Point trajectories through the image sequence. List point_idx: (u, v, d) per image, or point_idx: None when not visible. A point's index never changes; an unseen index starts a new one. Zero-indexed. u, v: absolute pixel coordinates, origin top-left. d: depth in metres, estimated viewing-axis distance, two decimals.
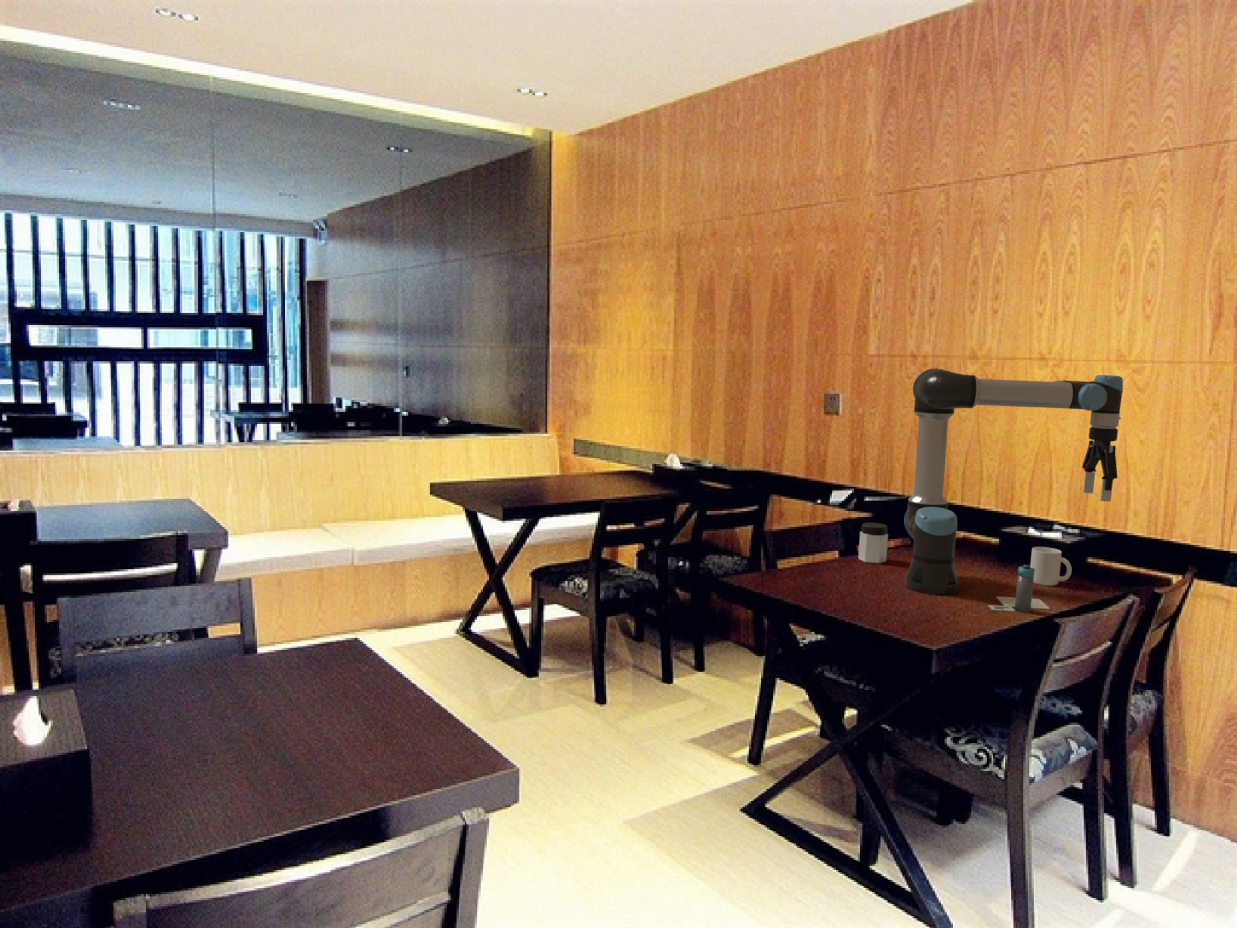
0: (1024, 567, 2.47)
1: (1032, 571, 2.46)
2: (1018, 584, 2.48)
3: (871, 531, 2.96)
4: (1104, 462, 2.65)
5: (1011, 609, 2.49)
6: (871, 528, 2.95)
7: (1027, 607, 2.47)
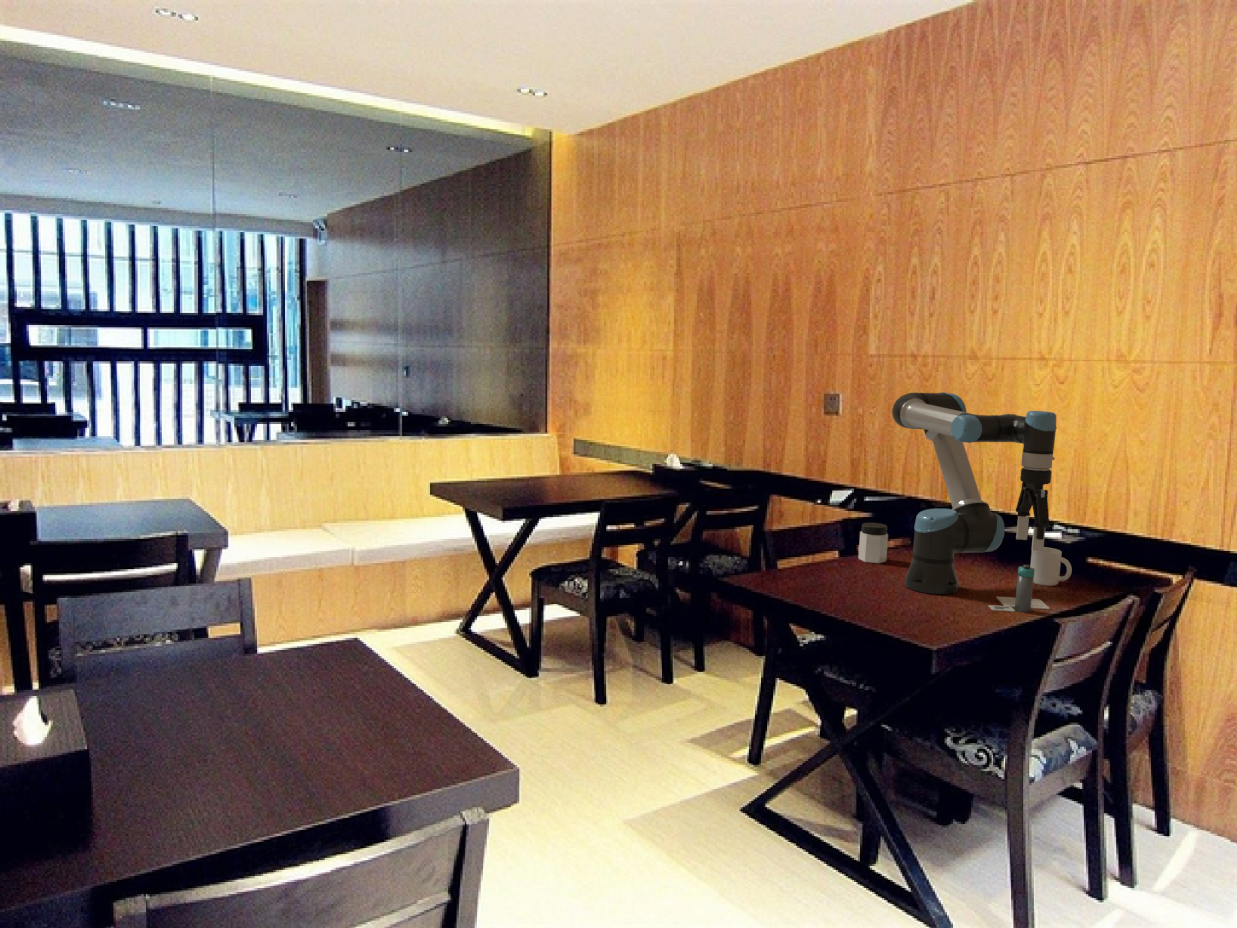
0: (1024, 567, 2.47)
1: (1032, 571, 2.46)
2: (1018, 584, 2.48)
3: (871, 531, 2.96)
4: (1036, 508, 2.40)
5: (1011, 609, 2.49)
6: (871, 528, 2.95)
7: (1027, 607, 2.47)
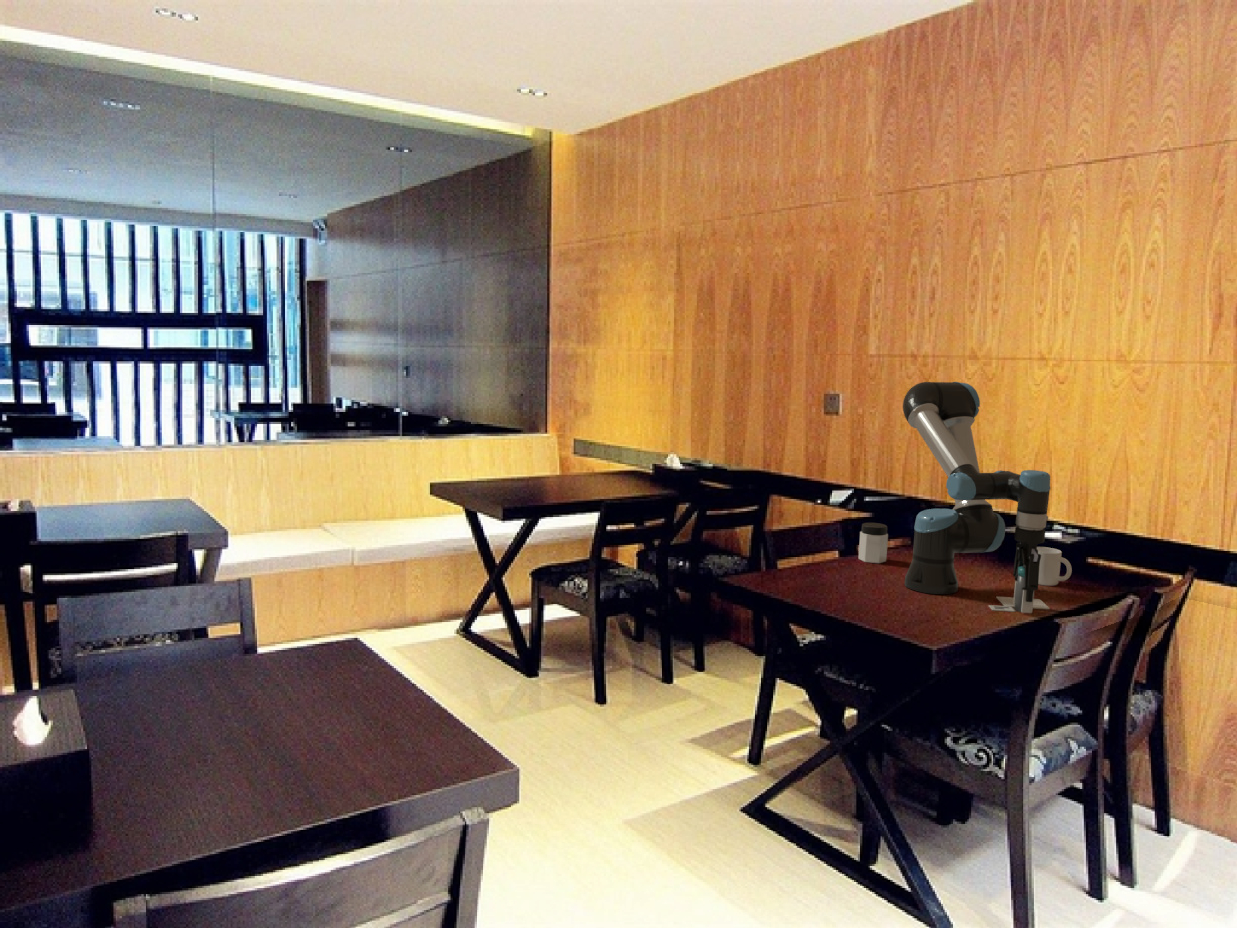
0: (1024, 567, 2.47)
1: None
2: (1018, 584, 2.48)
3: (871, 531, 2.96)
4: (1027, 569, 2.44)
5: (1011, 609, 2.49)
6: (871, 528, 2.95)
7: None
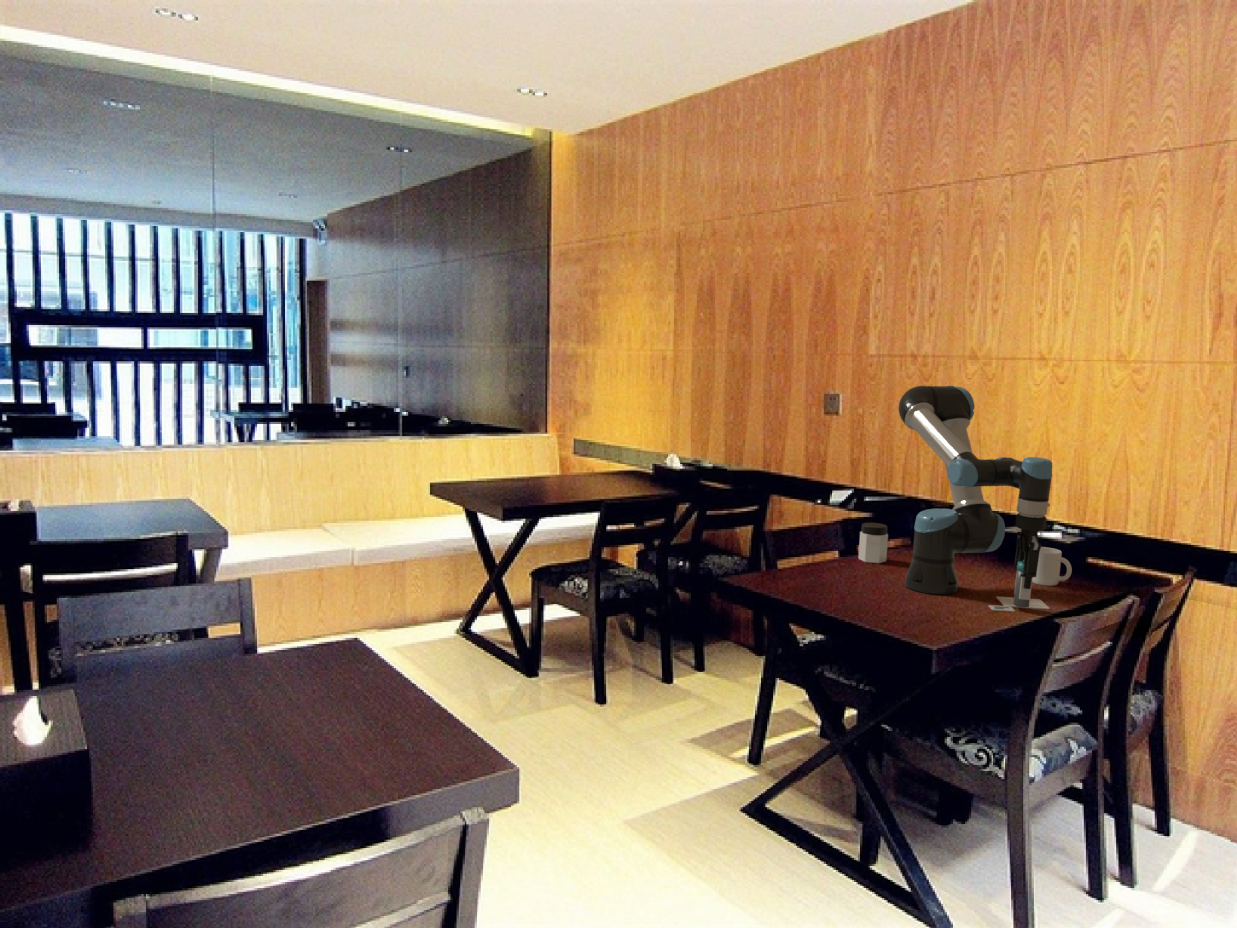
0: (1023, 562, 2.47)
1: None
2: (1017, 579, 2.48)
3: (871, 531, 2.96)
4: (1027, 557, 2.44)
5: (1011, 609, 2.49)
6: (871, 528, 2.95)
7: (1026, 601, 2.48)
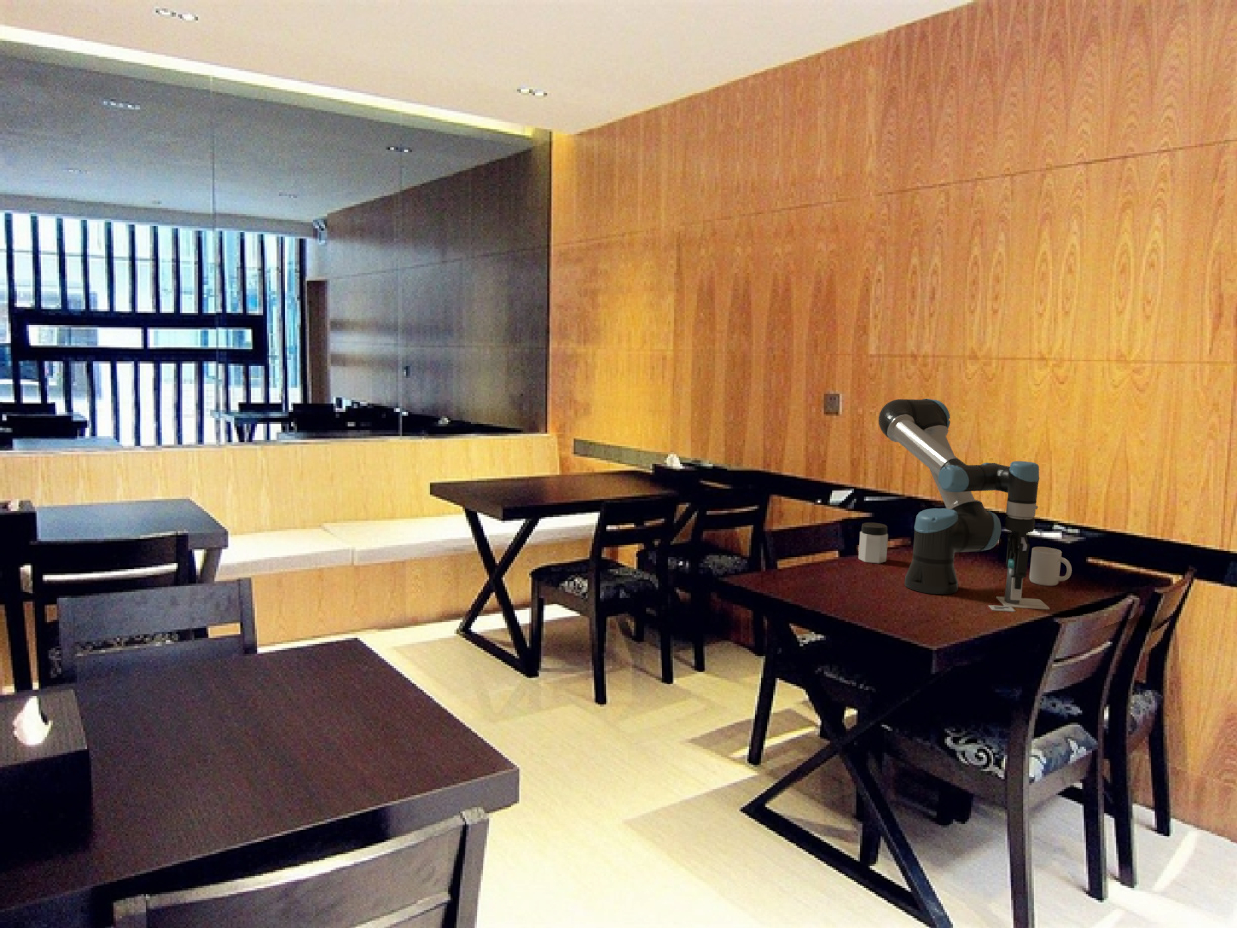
0: None
1: None
2: (1008, 576, 2.55)
3: (871, 531, 2.96)
4: (1017, 558, 2.51)
5: (1011, 609, 2.49)
6: (871, 528, 2.95)
7: None
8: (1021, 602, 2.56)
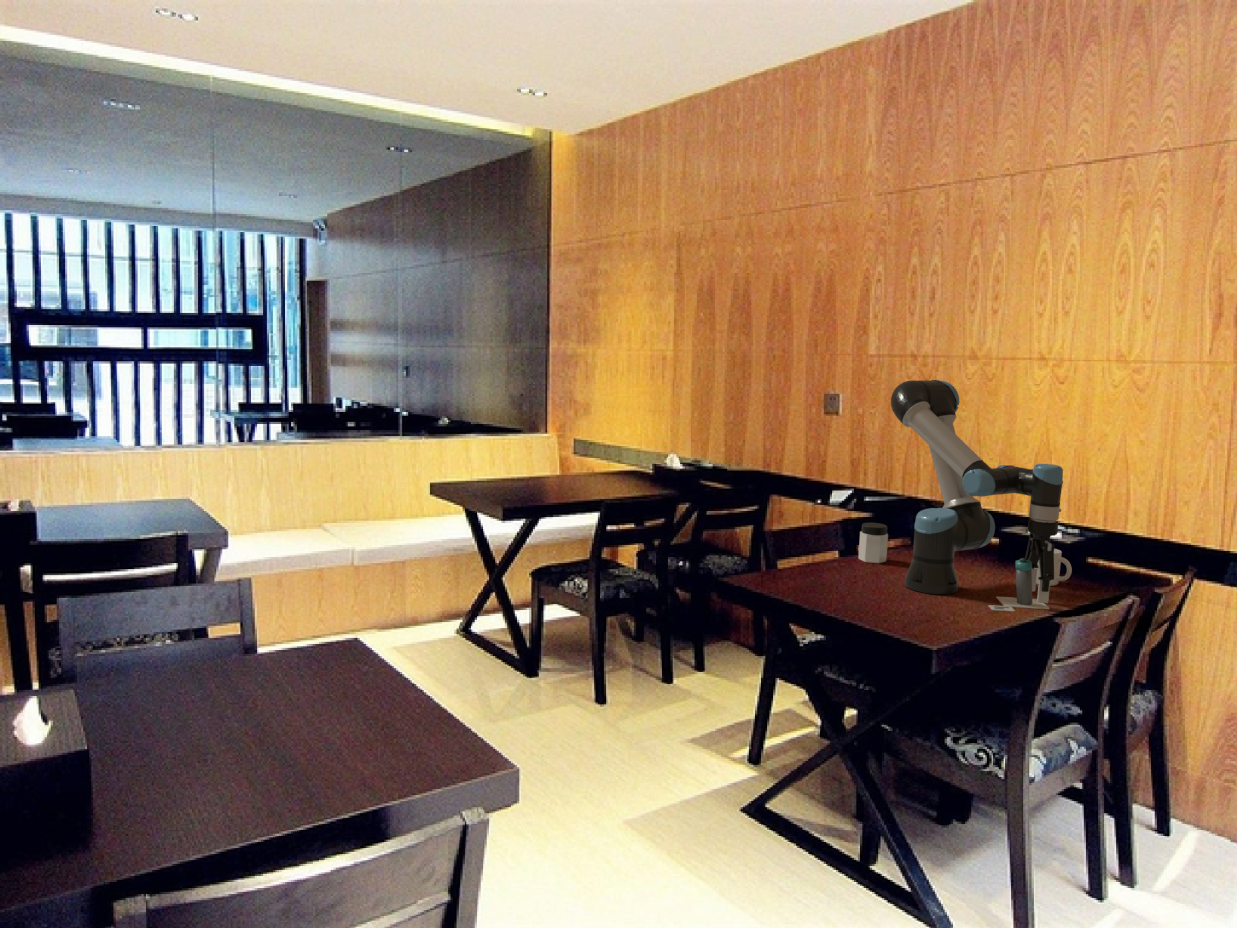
0: (1021, 561, 2.52)
1: (1030, 564, 2.51)
2: (1018, 578, 2.53)
3: (871, 531, 2.96)
4: (1042, 560, 2.47)
5: (1011, 609, 2.49)
6: (871, 528, 2.95)
7: (1029, 599, 2.53)
8: None
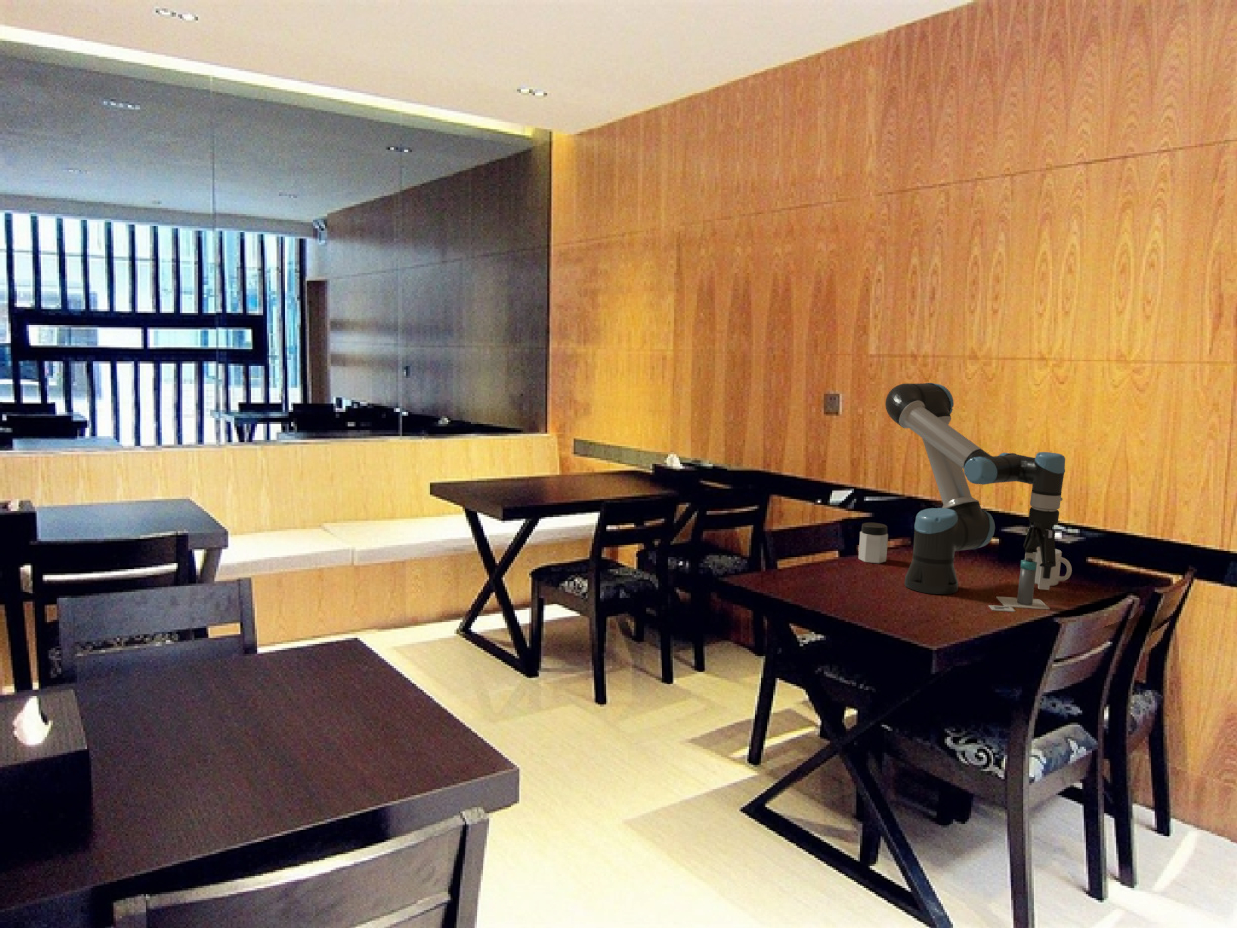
0: (1027, 560, 2.53)
1: (1035, 564, 2.52)
2: (1021, 577, 2.53)
3: (871, 531, 2.96)
4: (1043, 547, 2.47)
5: (1011, 609, 2.49)
6: (871, 528, 2.95)
7: (1030, 599, 2.53)
8: None
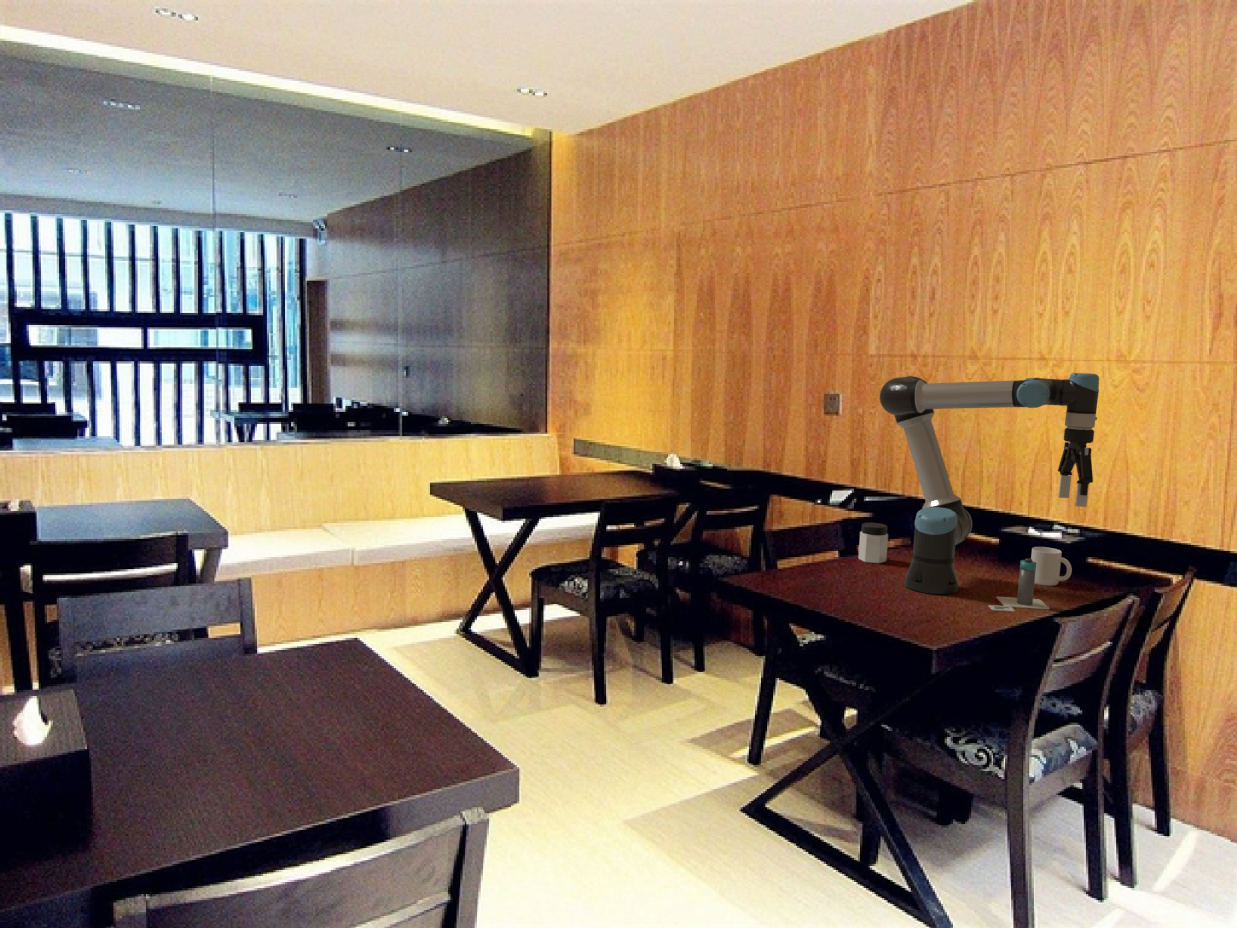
0: (1026, 561, 2.53)
1: (1034, 564, 2.51)
2: (1021, 578, 2.53)
3: (871, 531, 2.96)
4: (1079, 465, 2.50)
5: (1011, 609, 2.49)
6: (871, 528, 2.95)
7: (1030, 599, 2.53)
8: None
